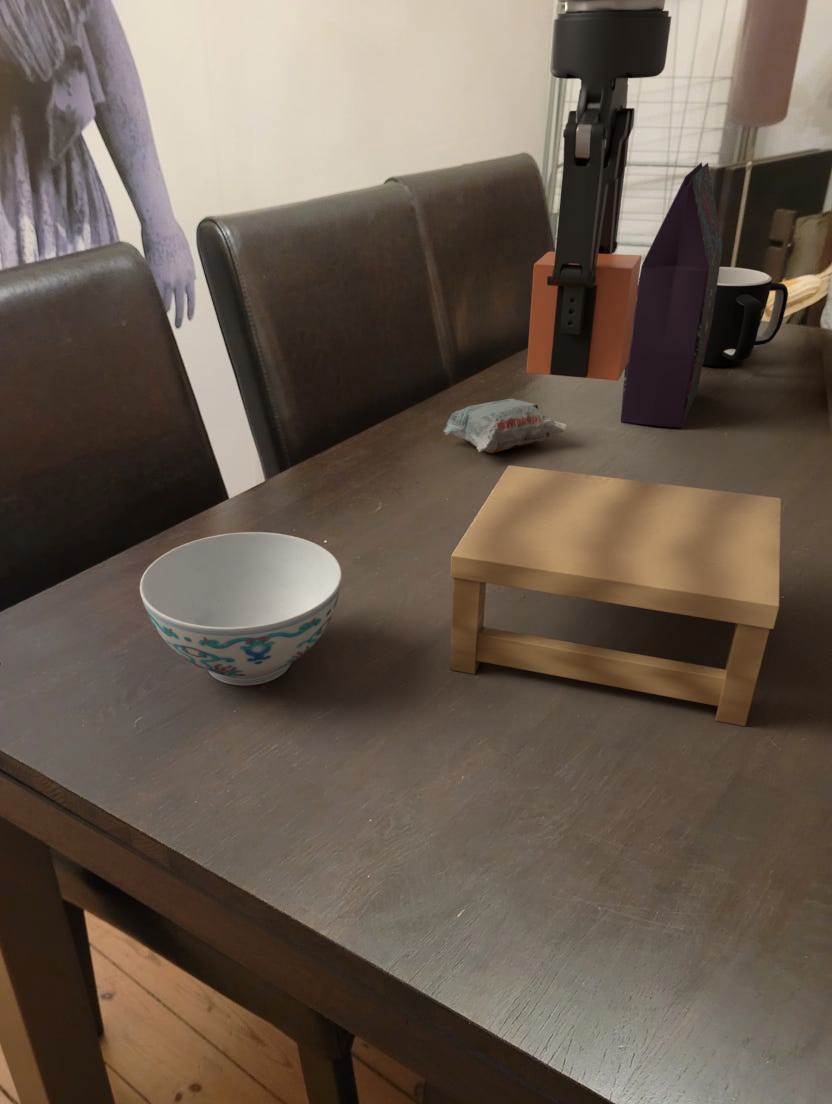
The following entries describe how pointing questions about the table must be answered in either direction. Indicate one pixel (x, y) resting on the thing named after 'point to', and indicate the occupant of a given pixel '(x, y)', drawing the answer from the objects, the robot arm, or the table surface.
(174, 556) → the chinaware
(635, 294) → the small box
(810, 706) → the table surface
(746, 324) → the mug
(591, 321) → the robot arm
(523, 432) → the packaged food
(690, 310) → the purple coffee bag
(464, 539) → the wooden footstool
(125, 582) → the table surface
